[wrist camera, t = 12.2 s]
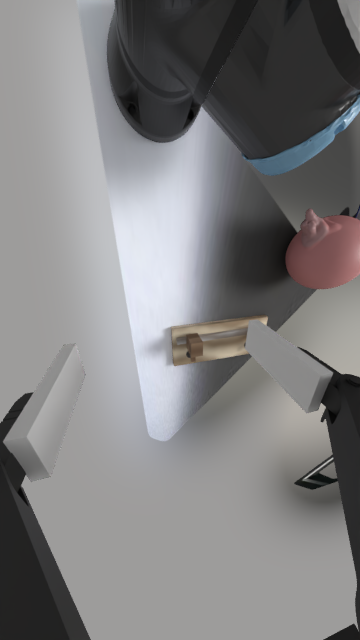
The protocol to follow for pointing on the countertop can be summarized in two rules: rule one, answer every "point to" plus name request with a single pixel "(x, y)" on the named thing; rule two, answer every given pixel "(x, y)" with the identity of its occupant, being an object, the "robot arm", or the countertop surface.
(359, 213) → the milk carton
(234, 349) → the wooden slotted board
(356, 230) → the balloon
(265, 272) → the countertop surface
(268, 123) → the robot arm
